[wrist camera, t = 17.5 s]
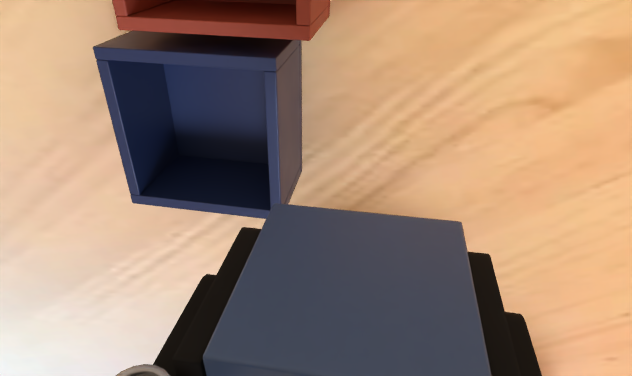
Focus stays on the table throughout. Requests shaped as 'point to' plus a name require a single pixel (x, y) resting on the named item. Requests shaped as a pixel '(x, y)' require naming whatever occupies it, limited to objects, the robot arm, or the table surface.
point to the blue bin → (205, 119)
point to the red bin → (225, 17)
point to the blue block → (351, 299)
